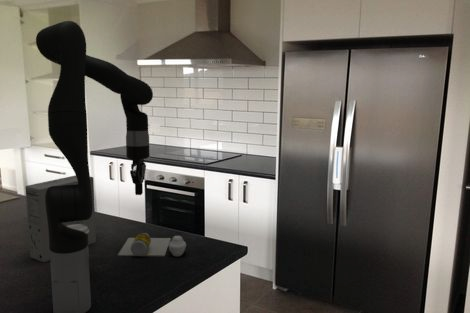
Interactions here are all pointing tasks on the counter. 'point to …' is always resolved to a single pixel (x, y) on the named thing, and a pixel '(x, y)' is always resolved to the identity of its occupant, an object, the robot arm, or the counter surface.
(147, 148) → the robot arm
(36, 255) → the cereal box
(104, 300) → the counter surface
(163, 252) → the topple mat
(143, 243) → the supplement bottle
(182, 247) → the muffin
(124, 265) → the counter surface
